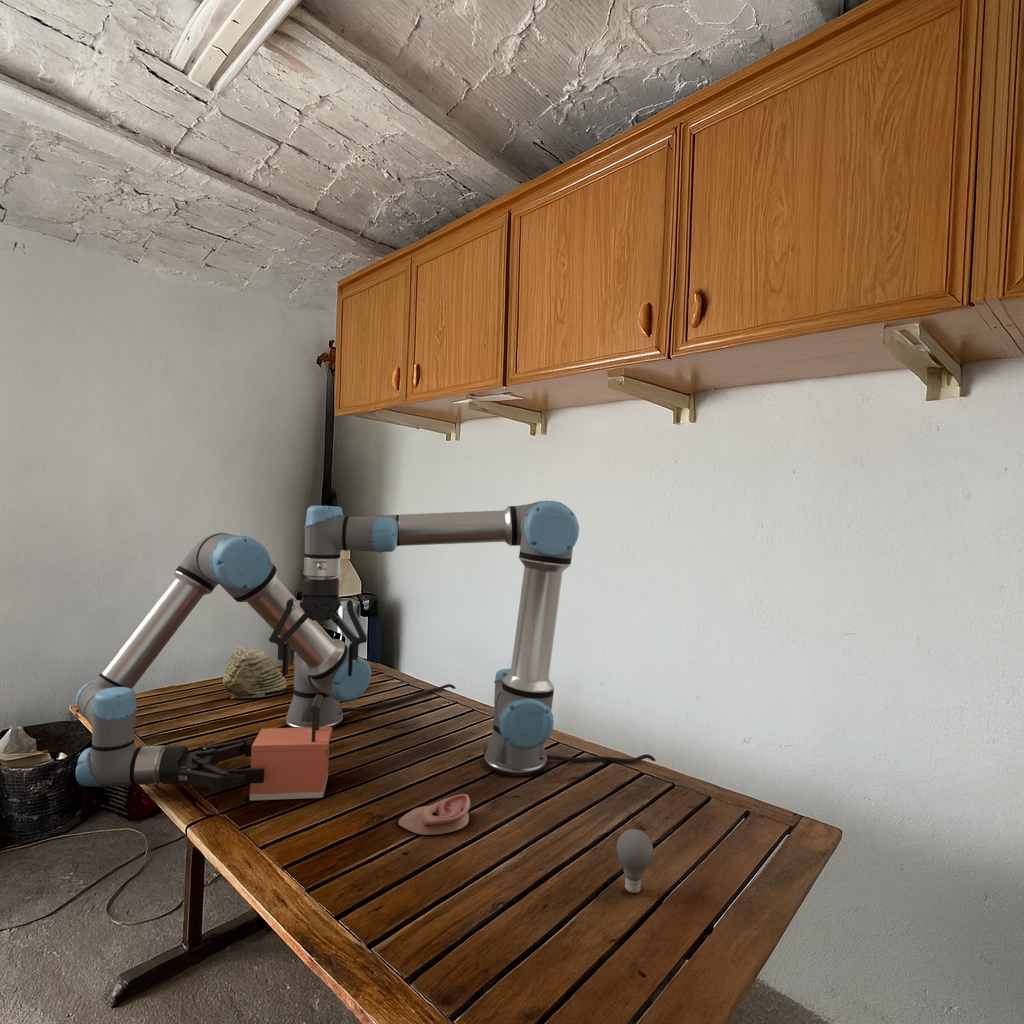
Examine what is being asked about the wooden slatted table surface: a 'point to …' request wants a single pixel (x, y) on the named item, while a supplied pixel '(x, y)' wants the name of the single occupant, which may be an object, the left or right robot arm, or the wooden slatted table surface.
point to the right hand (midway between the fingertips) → (317, 674)
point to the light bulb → (634, 857)
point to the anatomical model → (438, 816)
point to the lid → (295, 735)
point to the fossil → (252, 674)
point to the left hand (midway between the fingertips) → (270, 761)
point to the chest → (290, 774)
